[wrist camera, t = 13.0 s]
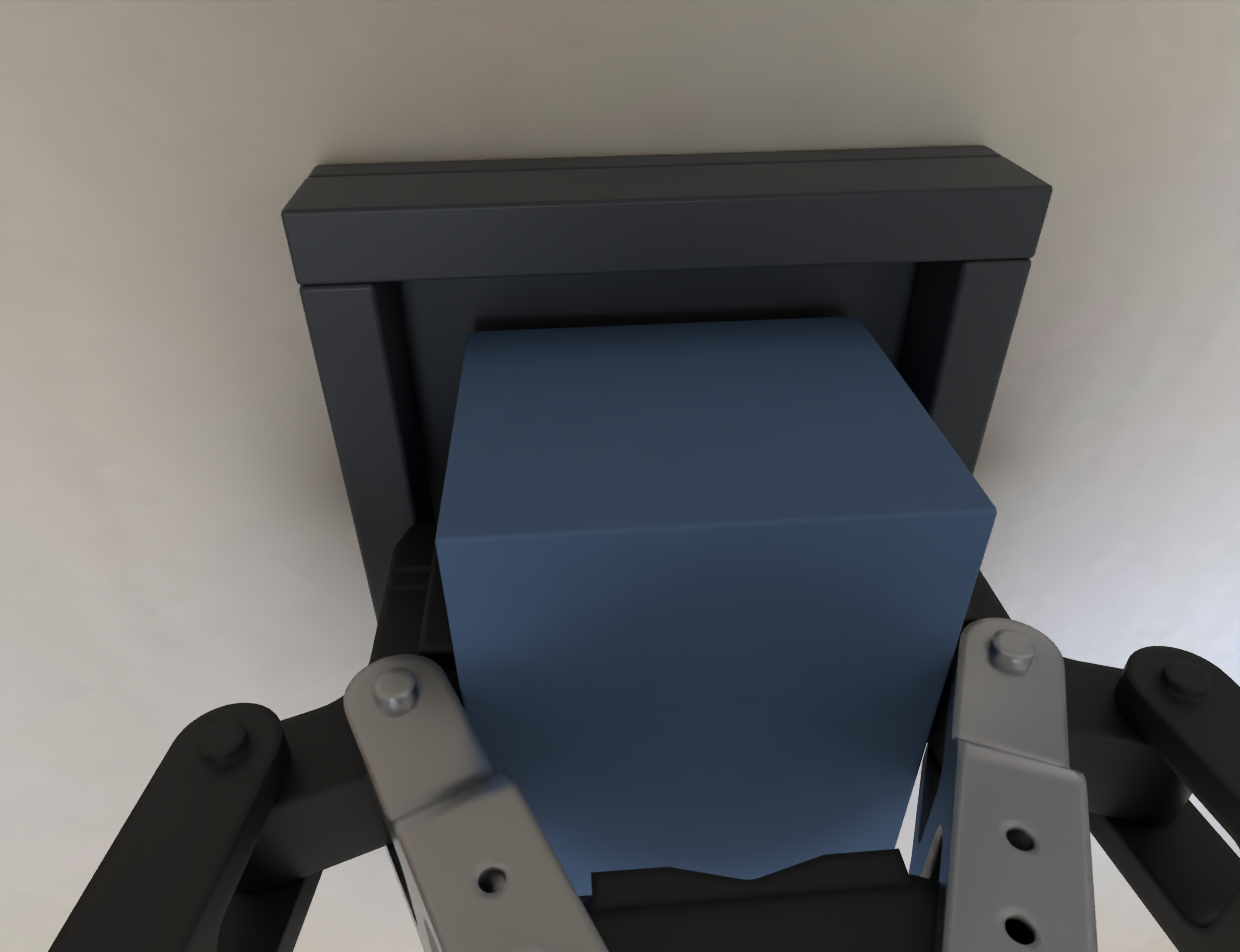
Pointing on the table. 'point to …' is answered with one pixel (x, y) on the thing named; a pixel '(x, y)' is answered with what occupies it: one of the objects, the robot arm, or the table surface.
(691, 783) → the matte blue cube
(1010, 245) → the frame
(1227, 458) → the table surface
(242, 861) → the robot arm
